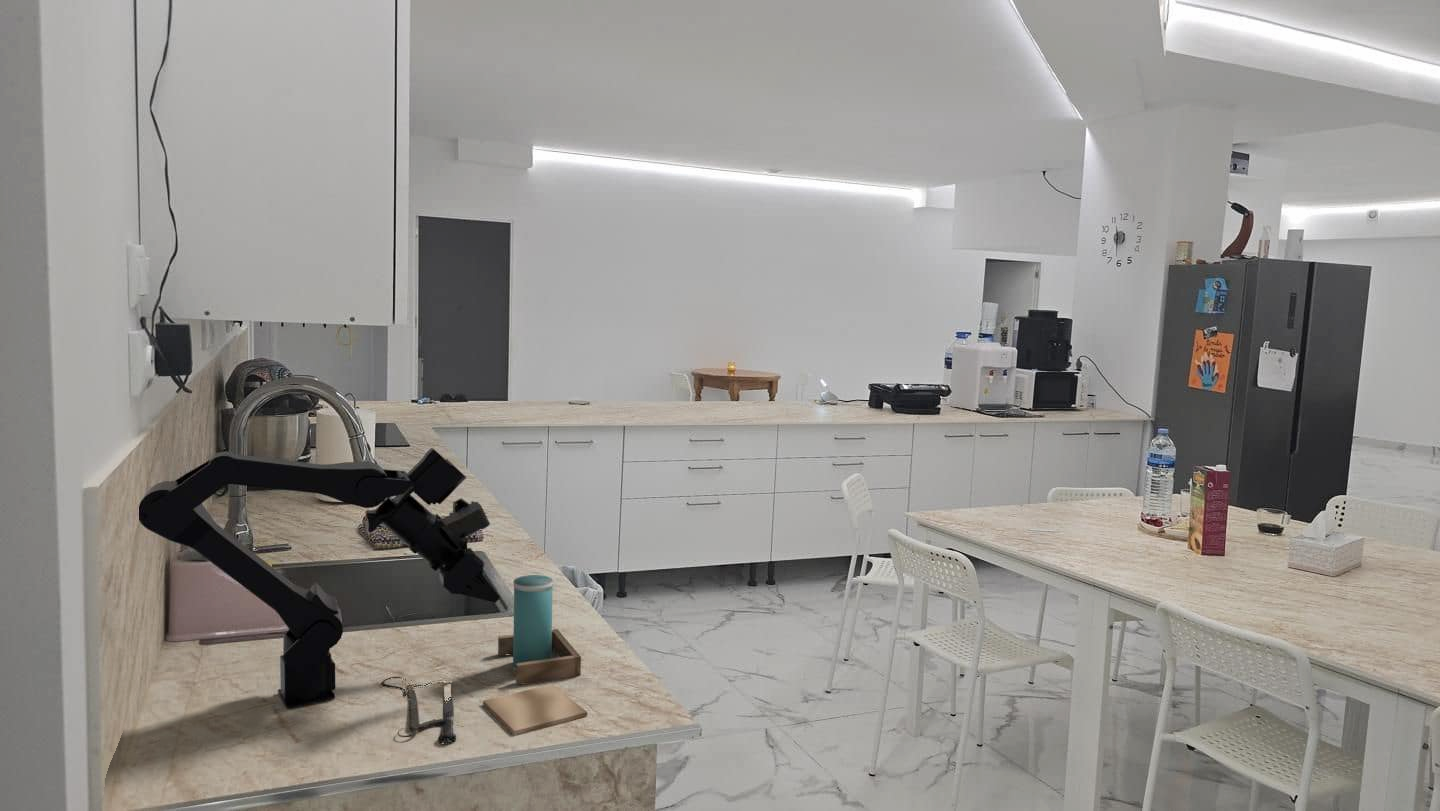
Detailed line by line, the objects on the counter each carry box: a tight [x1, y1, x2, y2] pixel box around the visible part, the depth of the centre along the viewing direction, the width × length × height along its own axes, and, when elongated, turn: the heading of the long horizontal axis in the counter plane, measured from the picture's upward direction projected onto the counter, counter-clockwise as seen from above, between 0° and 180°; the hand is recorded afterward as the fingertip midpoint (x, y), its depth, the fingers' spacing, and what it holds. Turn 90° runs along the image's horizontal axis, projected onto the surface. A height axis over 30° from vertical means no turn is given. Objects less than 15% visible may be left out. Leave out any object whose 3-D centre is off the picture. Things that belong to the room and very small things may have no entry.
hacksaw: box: [380, 676, 457, 745], centre depth 130 cm, size 24×10×2 cm, turn 18°
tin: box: [512, 574, 554, 670], centre depth 146 cm, size 6×6×14 cm
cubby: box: [497, 628, 582, 685], centre depth 147 cm, size 10×13×3 cm
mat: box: [482, 684, 588, 736], centre depth 131 cm, size 11×11×1 cm
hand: (491, 590), depth 142 cm, fingers open, 9 cm apart
